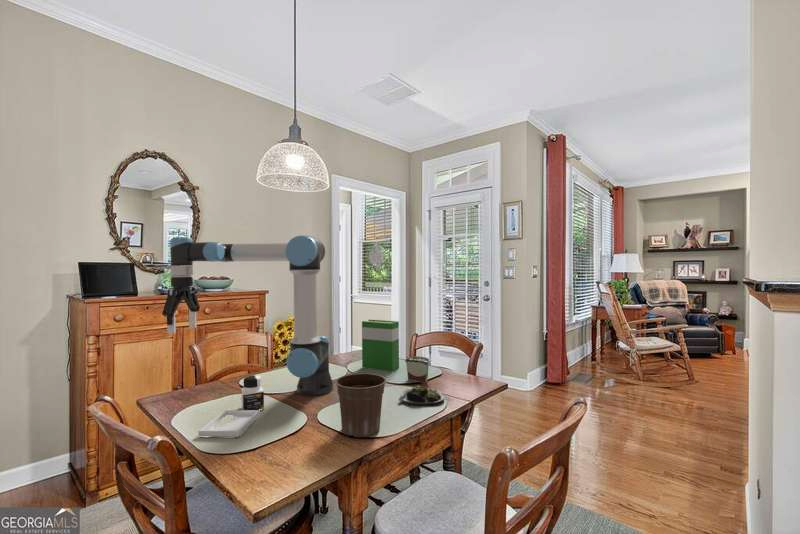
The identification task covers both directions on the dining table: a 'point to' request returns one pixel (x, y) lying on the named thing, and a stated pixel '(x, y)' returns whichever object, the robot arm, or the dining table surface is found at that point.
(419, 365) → the food container
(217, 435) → the tray
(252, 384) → the medicine bottle
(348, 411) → the plant pot
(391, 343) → the cereal box
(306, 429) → the dining table surface
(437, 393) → the salad plate
